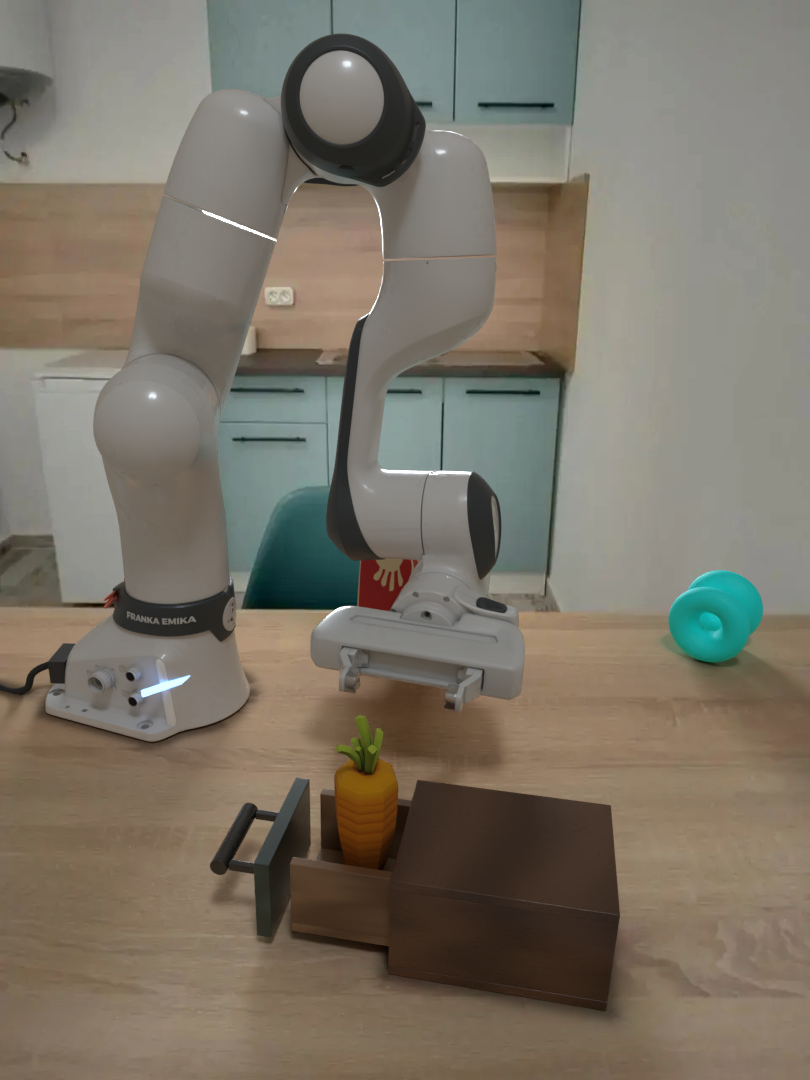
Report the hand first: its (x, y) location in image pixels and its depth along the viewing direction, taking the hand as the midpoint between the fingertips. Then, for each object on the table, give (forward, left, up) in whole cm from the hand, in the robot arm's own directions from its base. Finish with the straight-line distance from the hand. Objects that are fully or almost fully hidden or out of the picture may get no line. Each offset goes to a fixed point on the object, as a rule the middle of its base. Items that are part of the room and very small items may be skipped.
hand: (398, 695), depth 72 cm
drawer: (-2, -11, -12) cm, 17 cm away
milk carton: (-8, +36, -13) cm, 39 cm away
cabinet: (+10, -11, -13) cm, 20 cm away
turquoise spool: (+34, +42, -13) cm, 56 cm away
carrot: (0, -11, -11) cm, 16 cm away
